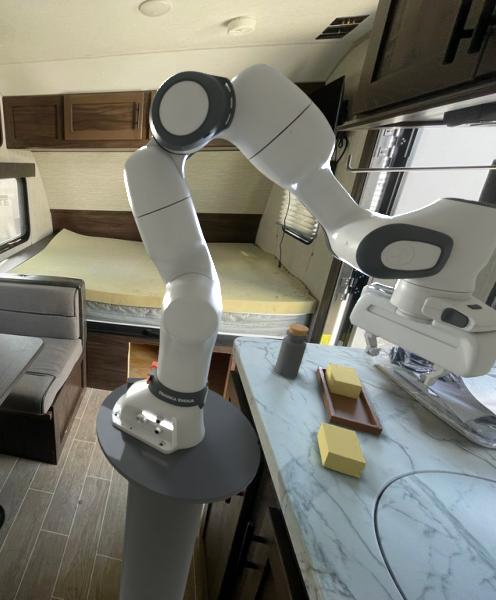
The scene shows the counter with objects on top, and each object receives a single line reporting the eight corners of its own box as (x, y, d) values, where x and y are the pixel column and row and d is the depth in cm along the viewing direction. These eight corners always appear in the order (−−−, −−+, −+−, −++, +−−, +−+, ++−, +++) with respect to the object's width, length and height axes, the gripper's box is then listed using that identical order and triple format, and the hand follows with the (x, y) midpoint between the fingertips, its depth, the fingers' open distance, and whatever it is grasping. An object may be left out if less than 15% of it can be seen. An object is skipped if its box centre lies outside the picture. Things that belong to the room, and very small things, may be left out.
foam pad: (322, 466, 65) (328, 451, 63) (316, 435, 72) (321, 421, 71) (359, 478, 62) (366, 463, 61) (349, 445, 70) (355, 431, 68)
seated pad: (330, 392, 85) (334, 380, 84) (324, 374, 93) (328, 362, 91) (357, 399, 83) (362, 386, 82) (349, 380, 91) (354, 368, 89)
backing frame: (329, 422, 76) (331, 415, 75) (316, 372, 95) (318, 366, 94) (379, 436, 72) (383, 429, 72) (355, 381, 91) (358, 375, 90)
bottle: (292, 367, 97) (305, 323, 91) (300, 379, 92) (315, 333, 86) (271, 365, 98) (283, 321, 92) (278, 376, 92) (291, 330, 87)
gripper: (354, 280, 63) (332, 341, 68) (493, 328, 44) (448, 407, 50) (379, 278, 64) (356, 338, 69) (525, 324, 46) (478, 401, 51)
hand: (396, 368), depth 59 cm, fingers open, 8 cm apart
